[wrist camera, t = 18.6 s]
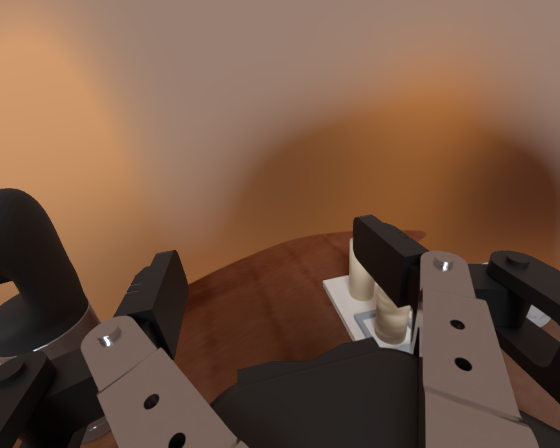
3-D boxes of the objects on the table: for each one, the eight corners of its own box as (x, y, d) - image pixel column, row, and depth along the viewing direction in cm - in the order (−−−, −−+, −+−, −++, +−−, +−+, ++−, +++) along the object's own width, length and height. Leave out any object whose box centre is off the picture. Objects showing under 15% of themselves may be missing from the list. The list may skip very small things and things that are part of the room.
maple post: (369, 335, 42) (374, 277, 37) (380, 317, 45) (385, 261, 40) (400, 350, 39) (409, 289, 34) (409, 329, 42) (419, 271, 37)
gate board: (448, 361, 38) (467, 292, 32) (374, 381, 37) (380, 312, 31) (373, 275, 58) (376, 222, 52) (323, 286, 56) (321, 232, 51)
